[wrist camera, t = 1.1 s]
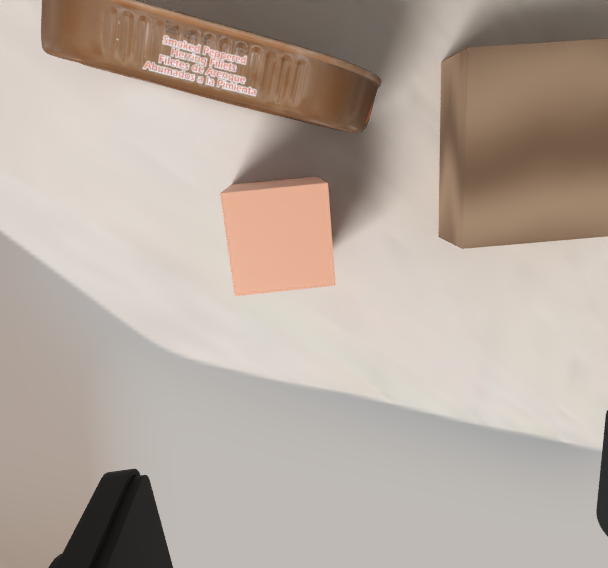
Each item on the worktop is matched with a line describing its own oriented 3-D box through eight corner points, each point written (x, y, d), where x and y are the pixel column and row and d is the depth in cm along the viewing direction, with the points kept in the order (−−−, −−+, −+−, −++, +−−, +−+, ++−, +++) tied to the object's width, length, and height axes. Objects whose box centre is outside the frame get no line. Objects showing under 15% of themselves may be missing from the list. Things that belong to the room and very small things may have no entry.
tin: (363, 88, 25) (407, 58, 17) (349, 144, 26) (384, 141, 18) (90, 12, 23) (-7, -61, 15) (83, 76, 24) (-11, 38, 16)
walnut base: (438, 63, 25) (468, 47, 22) (607, 52, 26) (665, 34, 22) (436, 235, 28) (462, 248, 24) (588, 223, 29) (637, 233, 25)
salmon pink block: (231, 184, 26) (220, 193, 20) (315, 176, 26) (327, 182, 21) (242, 266, 28) (234, 295, 22) (322, 257, 28) (335, 285, 22)
